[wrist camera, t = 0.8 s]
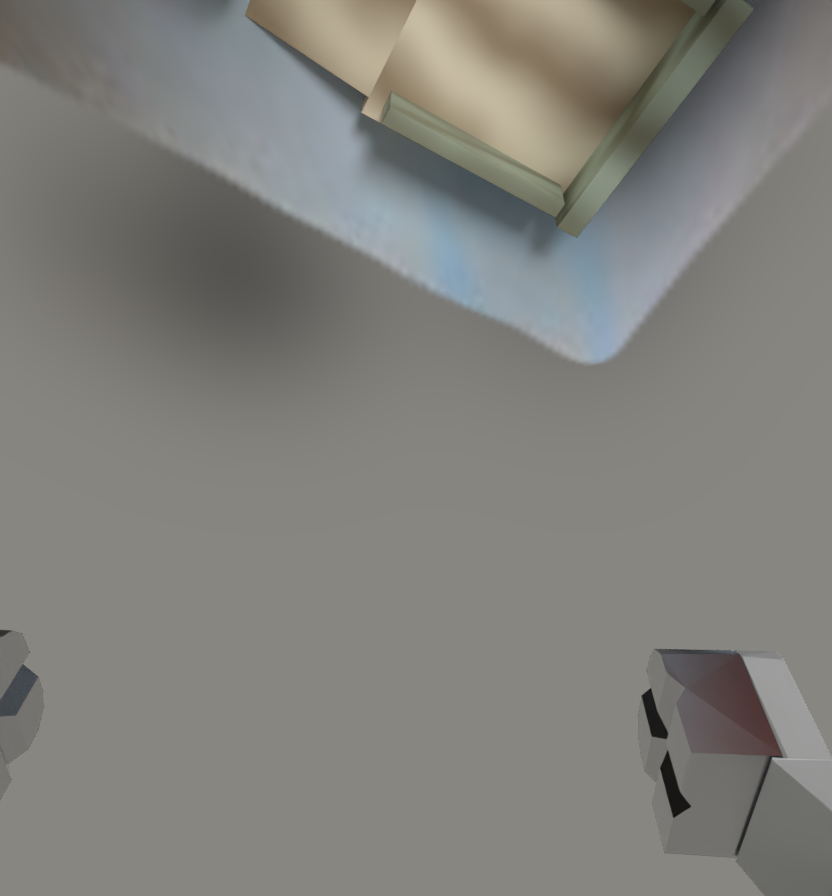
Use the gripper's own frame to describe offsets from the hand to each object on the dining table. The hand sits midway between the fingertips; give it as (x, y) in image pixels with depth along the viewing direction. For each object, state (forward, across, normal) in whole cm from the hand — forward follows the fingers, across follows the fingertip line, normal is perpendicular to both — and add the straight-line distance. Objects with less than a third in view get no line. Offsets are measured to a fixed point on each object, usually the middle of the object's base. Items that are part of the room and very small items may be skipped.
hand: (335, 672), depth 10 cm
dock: (+45, -3, -7) cm, 45 cm away
